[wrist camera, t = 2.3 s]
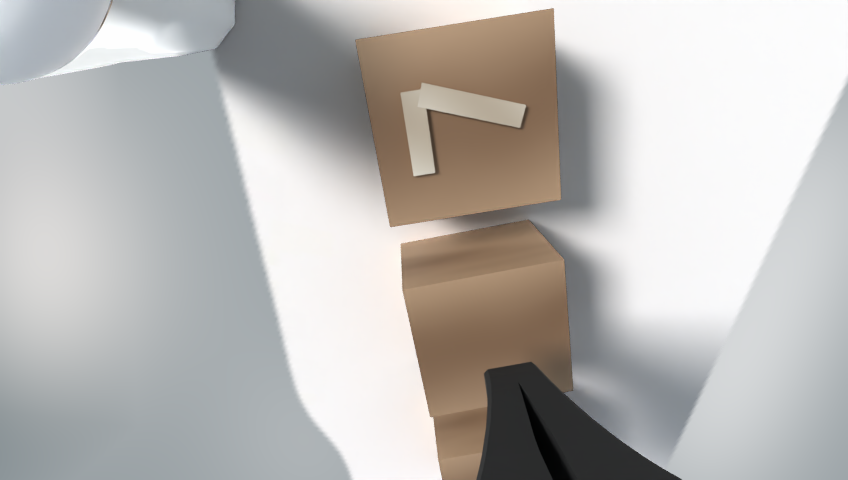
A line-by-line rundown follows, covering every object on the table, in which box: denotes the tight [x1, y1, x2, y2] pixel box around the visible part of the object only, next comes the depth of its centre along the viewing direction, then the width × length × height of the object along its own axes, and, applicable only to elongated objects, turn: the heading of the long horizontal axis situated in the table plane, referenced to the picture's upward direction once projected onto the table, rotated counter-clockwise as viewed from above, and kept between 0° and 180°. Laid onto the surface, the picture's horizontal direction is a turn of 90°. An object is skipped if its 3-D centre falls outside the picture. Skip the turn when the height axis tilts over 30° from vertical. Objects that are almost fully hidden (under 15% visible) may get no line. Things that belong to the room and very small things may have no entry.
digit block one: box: [433, 407, 487, 480], centre depth 19 cm, size 5×5×4 cm
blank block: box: [401, 220, 573, 417], centre depth 16 cm, size 5×5×4 cm
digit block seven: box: [355, 8, 561, 227], centre depth 14 cm, size 5×5×4 cm
